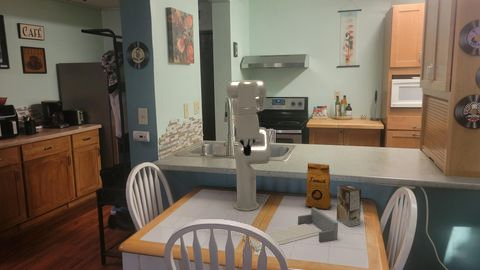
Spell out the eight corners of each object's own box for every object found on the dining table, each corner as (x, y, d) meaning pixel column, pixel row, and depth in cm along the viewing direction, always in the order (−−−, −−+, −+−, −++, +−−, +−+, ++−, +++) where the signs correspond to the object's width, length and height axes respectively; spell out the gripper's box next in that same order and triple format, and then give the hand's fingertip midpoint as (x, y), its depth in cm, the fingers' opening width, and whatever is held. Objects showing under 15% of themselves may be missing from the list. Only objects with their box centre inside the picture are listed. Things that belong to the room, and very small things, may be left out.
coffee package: (328, 211, 175) (329, 167, 171) (303, 207, 180) (304, 164, 177) (332, 205, 184) (334, 162, 180) (308, 201, 189) (309, 160, 186)
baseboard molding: (323, 237, 149) (305, 226, 159) (323, 230, 148) (305, 220, 159) (257, 254, 135) (243, 241, 145) (257, 247, 134) (242, 234, 145)
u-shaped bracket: (297, 224, 160) (298, 209, 159) (313, 222, 162) (314, 207, 161) (319, 242, 143) (320, 225, 142) (337, 239, 145) (338, 222, 144)
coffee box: (360, 224, 159) (362, 189, 157) (349, 227, 157) (350, 191, 154) (346, 217, 167) (348, 183, 165) (335, 219, 165) (336, 185, 162)
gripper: (260, 110, 155) (260, 152, 158) (226, 111, 151) (227, 154, 154) (267, 111, 148) (267, 155, 151) (232, 113, 144) (233, 158, 146)
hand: (247, 155), depth 152 cm, fingers closed
